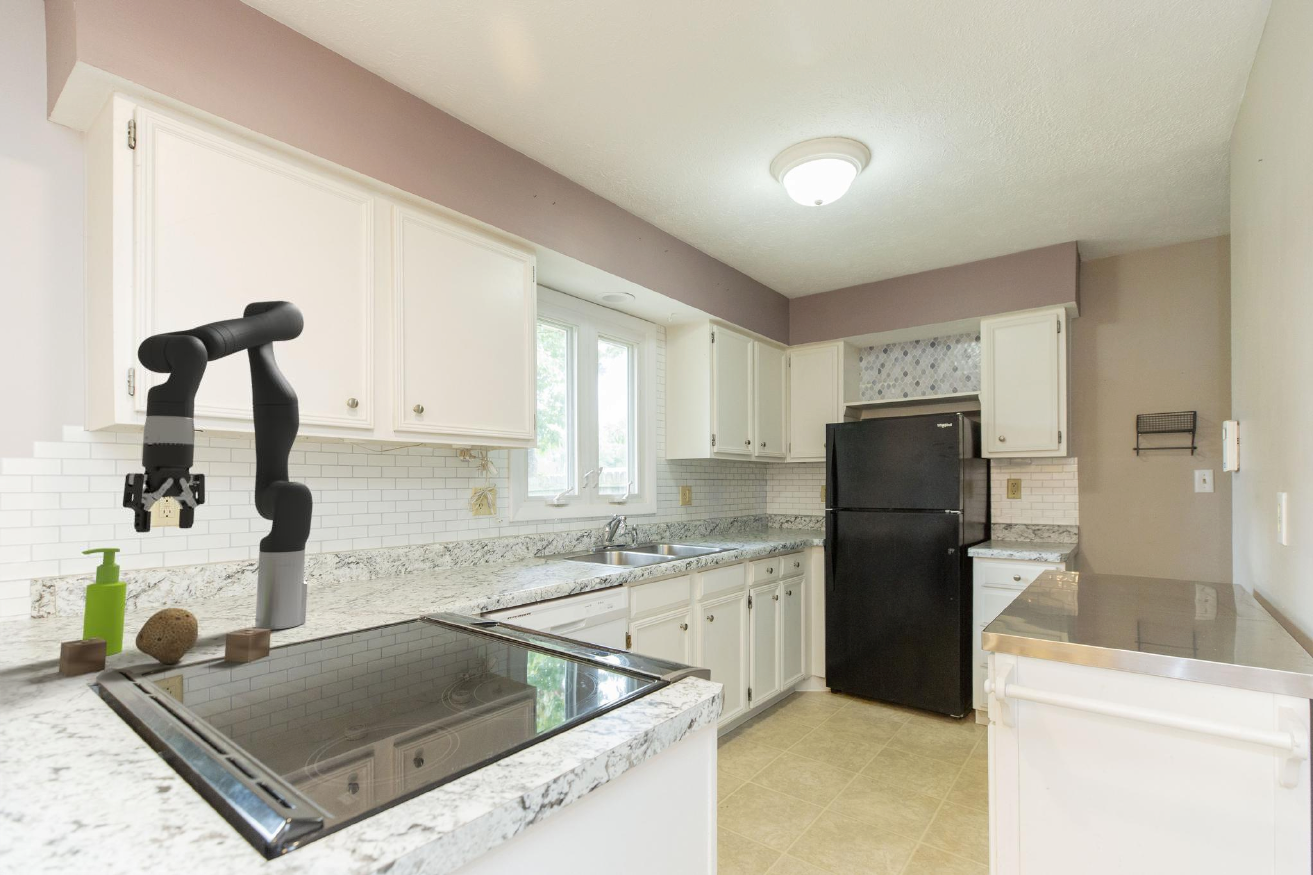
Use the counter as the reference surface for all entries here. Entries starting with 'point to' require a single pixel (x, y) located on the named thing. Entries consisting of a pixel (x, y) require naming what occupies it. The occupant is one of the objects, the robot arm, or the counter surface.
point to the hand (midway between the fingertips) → (164, 530)
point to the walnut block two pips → (247, 645)
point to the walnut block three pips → (82, 656)
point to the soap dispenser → (106, 603)
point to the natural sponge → (168, 635)
